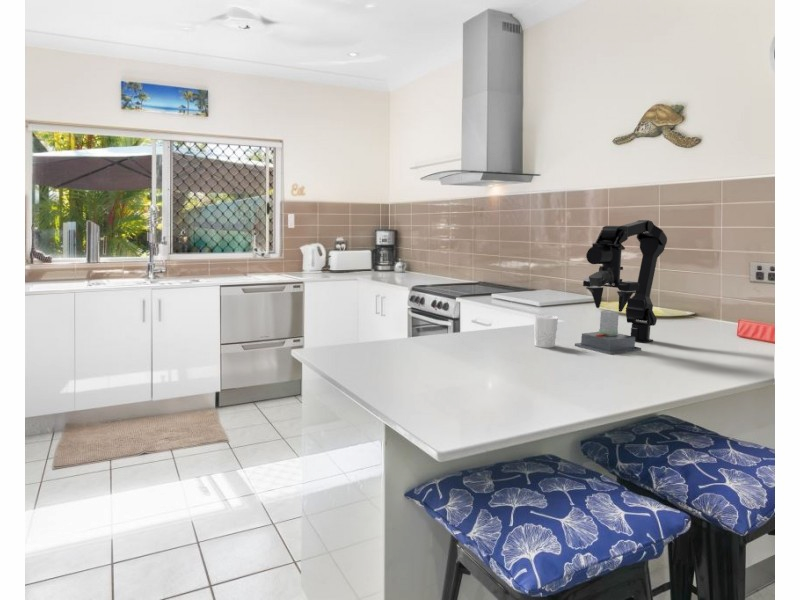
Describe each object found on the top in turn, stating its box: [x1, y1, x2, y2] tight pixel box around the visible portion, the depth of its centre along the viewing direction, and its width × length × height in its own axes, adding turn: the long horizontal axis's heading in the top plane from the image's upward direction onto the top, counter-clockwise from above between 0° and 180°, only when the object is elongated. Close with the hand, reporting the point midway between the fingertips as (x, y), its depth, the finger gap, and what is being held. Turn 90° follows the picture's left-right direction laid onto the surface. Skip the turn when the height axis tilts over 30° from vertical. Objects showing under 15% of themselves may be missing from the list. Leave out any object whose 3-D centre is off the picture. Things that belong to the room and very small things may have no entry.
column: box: [598, 310, 620, 337], centre depth 189 cm, size 4×4×8 cm
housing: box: [574, 331, 642, 356], centre depth 190 cm, size 15×15×5 cm
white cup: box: [533, 314, 559, 349], centre depth 192 cm, size 8×8×10 cm
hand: (608, 309), depth 191 cm, fingers open, 9 cm apart
